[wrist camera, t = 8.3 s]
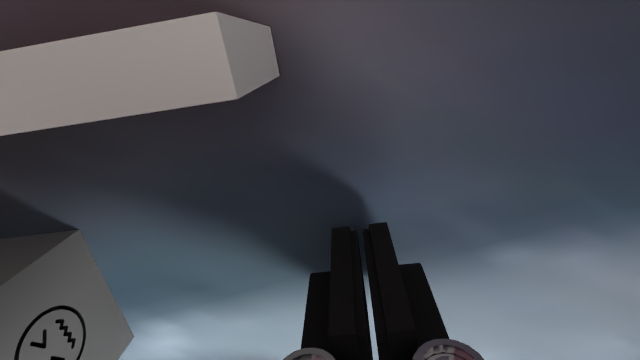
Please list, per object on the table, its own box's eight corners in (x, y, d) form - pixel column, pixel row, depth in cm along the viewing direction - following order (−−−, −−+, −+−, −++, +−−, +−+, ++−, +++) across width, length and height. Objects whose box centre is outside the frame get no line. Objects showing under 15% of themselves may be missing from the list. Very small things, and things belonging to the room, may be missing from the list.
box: (270, 27, 8) (215, 11, 4) (343, 406, 14) (346, 538, 10) (-188, 107, 9) (-520, 147, 6) (50, 423, 15) (-41, 543, 11)
